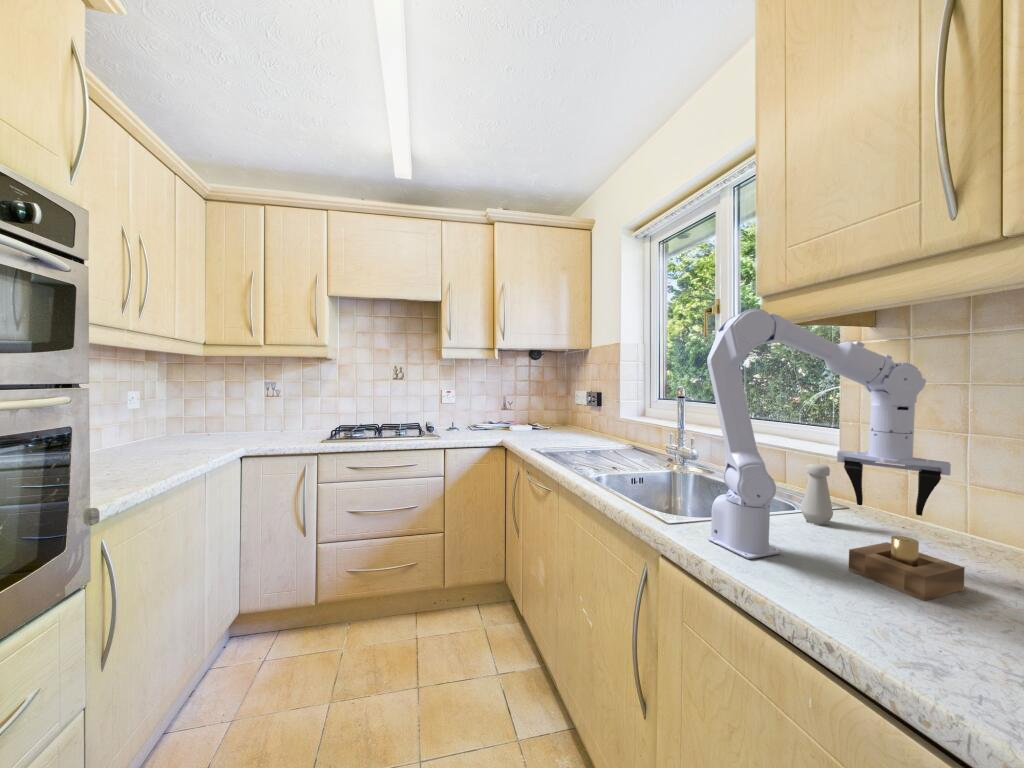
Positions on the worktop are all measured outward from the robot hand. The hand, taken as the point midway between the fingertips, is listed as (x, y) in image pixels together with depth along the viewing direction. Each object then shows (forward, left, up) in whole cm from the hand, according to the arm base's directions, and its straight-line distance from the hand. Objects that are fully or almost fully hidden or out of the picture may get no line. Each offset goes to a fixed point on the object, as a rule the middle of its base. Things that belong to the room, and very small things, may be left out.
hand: (888, 508), depth 73 cm
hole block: (+5, -5, -9) cm, 12 cm away
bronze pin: (+5, -5, -9) cm, 11 cm away
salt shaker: (-18, +9, -10) cm, 22 cm away
